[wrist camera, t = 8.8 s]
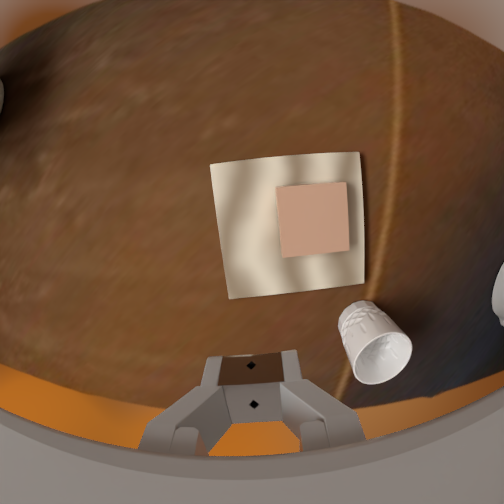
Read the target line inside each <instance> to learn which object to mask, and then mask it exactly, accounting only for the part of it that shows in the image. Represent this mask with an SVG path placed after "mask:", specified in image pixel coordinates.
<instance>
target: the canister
mask: <svg viewBox="0 0 504 504" xmlns="http://www.w3.org/2000/svg"><path fill="white" fill-rule="evenodd" d="M3 99H4V87H3V83H2V81H1V79H0V113H1V110H2V106H3Z"/></svg>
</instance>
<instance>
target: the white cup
mask: <svg viewBox="0 0 504 504" xmlns="http://www.w3.org/2000/svg"><path fill="white" fill-rule="evenodd" d="M338 329H339V331H340V334H341V337H342V342H343V345H344V348H345V350H346V353H347V356H348V359H349V361H350V364H351V367H352V369H353V372H354V375H355V377H356V378H357V379H358V380H359V381H360V382H362V383H365V384H379V383H382V382H385V381H387V380H389V379H391V378H393V377H394V376H396V375H397V374H398V373H399V372H400V371H401V370H402V369H403V368H404V367H405V366H406V364H407V363H408V361H409V359H410V357H411V353H412V343H411V341H410V339H409V337H408V336H407V335H406V334H405V333H404V332H403V331H402V330H401V329H400V328H399V327H398V326H397V325H396V324H395V323H394V322H393V320H392V319H391V318H390V317H389V316H388V315H386V314H385V313H384V312H383V311H381V310H380V309H379V308H378V307H377V306H376V305H375V304H374V303H373V302H370V301H365V300H362V301H358V302H354V303H352V304H351V305H350V306H348V307H347V308H345V309H344V311H343V313H342V314H341V316H340V317H339V323H338Z"/></svg>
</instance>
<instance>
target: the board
mask: <svg viewBox="0 0 504 504" xmlns="http://www.w3.org/2000/svg"><path fill="white" fill-rule="evenodd" d="M210 169H211V177H212V185H213V193H214V200H215V208H216V215H217V222H218V229H219V236H220V243H221V250H222V257H223V263H224V270H225V276H226V283H227V289H228V295H229V299H235V298H245V297H255V296H265V295H274V294H283V293H292V292H300V291H309V290H317V289H324V288H332V287H339V286H347V285H354V284H361V283H364V210H363V191H362V176H361V164H360V154H359V152H341V153H319V154H303V155H290V156H278V157H268V158H258V159H249V160H240V161H232V162H225V163H218V164H211V165H210ZM340 181H342V182H346V187H347V202H348V221H349V251H340V252H332V253H323V254H314V255H305V256H296V257H287V258H283V257H282V254H281V245H280V234H279V224H278V214H277V204H276V194H275V187H277V186H288V185H299V184H311V183H325V182H340Z"/></svg>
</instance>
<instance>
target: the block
mask: <svg viewBox="0 0 504 504" xmlns="http://www.w3.org/2000/svg"><path fill="white" fill-rule="evenodd" d="M275 194H276V204H277V214H278V224H279V234H280V245H281V254H282V257H283V258H287V257H296V256H305V255H314V254H323V253H332V252H340V251H349V221H348V202H347V187H346V182H342V181H340V182H325V183H311V184H299V185H288V186H277V187H275Z"/></svg>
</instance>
